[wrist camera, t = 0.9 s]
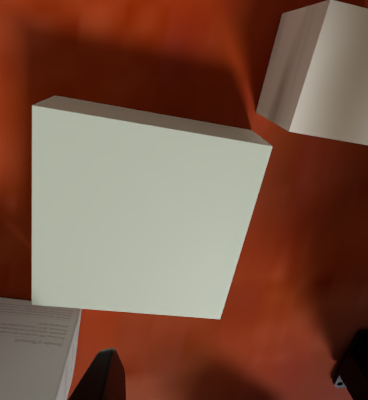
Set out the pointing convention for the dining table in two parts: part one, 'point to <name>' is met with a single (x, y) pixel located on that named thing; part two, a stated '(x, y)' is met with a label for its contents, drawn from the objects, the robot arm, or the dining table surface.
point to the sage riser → (138, 208)
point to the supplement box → (37, 350)
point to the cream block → (320, 73)
